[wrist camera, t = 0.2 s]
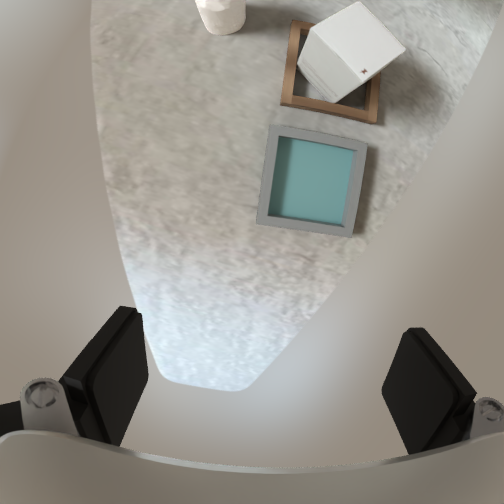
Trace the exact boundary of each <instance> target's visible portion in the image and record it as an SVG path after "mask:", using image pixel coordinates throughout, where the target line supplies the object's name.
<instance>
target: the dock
mask: <svg viewBox="0 0 504 504" xmlns="http://www.w3.org/2000/svg"><path fill="white" fill-rule="evenodd" d="M367 146H368V143H364V142H360V141H356V140H351V139H347V138H343V137H338V136H333V135H329V134H324V133H319V132H313V131H308V130H302V129H297V128H291V127H284V126H278V125H271V124H270V126H269V132H268V140H267V147H266V154H265V161H264V169H263V176H262V183H261V190H260V198H259V205H258V212H257V219H256V224H258V225H266V226H273V227H280V228H287V229H295V230H302V231H308V232H315V233H322V234H329V235H335V236H342V237H348V238H352V233H353V228H354V223H355V218H356V213H357V208H358V202H359V197H360V191H361V185H362V179H363V173H364V166H365V160H366V153H367Z"/></svg>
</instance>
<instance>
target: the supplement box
mask: <svg viewBox="0 0 504 504" xmlns="http://www.w3.org/2000/svg"><path fill="white" fill-rule="evenodd" d="M405 51H406V49H405V48H404V46H403V45H402V44H401V43H400V42H399V41H398V40H397V39H396V37H395V36H394V35H393V34H392V33H391V32H390V31H389V30H388V29H387V28H386V27H385V26H384V25H383V24H382V22H381V21H380V20H379V19H378V18H377V17H376V16H375V15H374V14H373V13H372V12H371V11H370V10H369V9H368V8H366V7H365V6H364V5H363V4H362V3H361V2H360V1H357V2H355V3H354V4H352V5H350V6H348V7H346V8H345V9H343V10H341V11H339V12H337V13H335V14H334V15H332V16H330V17H328V18H327V19H325V20H323V21H321V22H320V23H318V24H316V25H315V26H313V27H311V28H310V31H309V34H308V37H307V39H306V42H305V44H304V47H303V49H302V52H301V54H300V57H299V59H298V62H297V65H296V69H297V70H298V71H299V72H300V73H301V74H302V75H303V76H304V77H305V78H306V79H307V80H308V81H309V82H310V83H311V84H312V85H313V86H314V87H315V88H316V89H317V91H318V92H319V93H320V94H321V95H322V96H323V97H324V98H325V99H326V100H327V101H328V102H331V103H337V102H338V101H339V100H341V99H342V98H343V97H345V96H346V95H348V94H349V93H350V92H352V91H353V90H355V89H356V88H358V87H359V86H361V85H362V84H363V83H365V82H366V81H368V80H369V79H371V78H372V77H373V76H375V75H376V74H377V73H379V72H380V71H381V70H382V69H384V68H385V67H386V66H388V65H389V64H390V63H391V62H393V61H394V60H395V59H396V58H397V57H399V56H400V55H401V54H402V53H404V52H405Z"/></svg>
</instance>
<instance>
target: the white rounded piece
mask: <svg viewBox="0 0 504 504" xmlns="http://www.w3.org/2000/svg"><path fill="white" fill-rule="evenodd" d="M195 2H196V5H197V7H198V10H199V12H200V15H201V17H202V20H203V22H204V24H205V27H206V29H207V30H208V31H209V32H210V33H212V34H215V35H227V34H231V33H234V32H236V31H238V30H239V29H241V27H242V26H243V25H244V23H245V20H246V13H245V0H195Z"/></svg>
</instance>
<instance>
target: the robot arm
mask: <svg viewBox="0 0 504 504" xmlns="http://www.w3.org/2000/svg"><path fill="white" fill-rule="evenodd" d="M147 381H148V366H147V359H146V351H145V341H144V331H143V320H142V314H141V313H138V312H137V309H136V308H131V307H125V306H120V307H119V308H118V309H117V310H116V311H115V312H114V314H113V315H112V316H111V317H110V318H109V319H108V320H107V322H106V323H105V324H104V325H103V326H102V328H101V329H100V330H99V331H98V333H97V334H96V335H95V336H94V337H93V339H91V340H90V342H89V343H88V344H87V345H86V347H85V348H84V349H83V350H82V352H81V353H80V354H79V355H78V357H77V358H76V359H75V361H74V362H73V363H72V364H71V365H70V367H69V368H68V369H67V371H66V372H65V373H64V374H63V376H62V377H61V378H60V380H59V381H56V380H53V379H51V378H38V379H34V380H32V381H30V382H28V383H27V384H26V385H25V386H24V387H23V388H22V391H21V393H20V401H16V402H11V403H7V404H3V405H0V504H504V406H503V405H502V404H501V403H500V402H499V401H497V400H495V399H493V398H489V397H483V398H480V399H478V400H477V401H476V403H474V401H473V399H474V398H475V396H476V394H477V392H476V391H475V390H474V388H473V387H472V386H471V385H470V383H469V382H468V381H467V379H466V378H465V377H464V376H463V374H462V373H461V372H460V371H459V369H458V368H457V367H456V366H455V364H454V363H453V362H452V361H451V359H450V358H449V357H448V356H447V355H446V354H445V352H444V351H443V350H442V349H441V347H440V346H439V345H438V344H437V343H436V342H435V340H434V339H433V338H432V337H431V336H430V334H429V333H428V332H427V331H426V330H425V329H424V328H409V329H408V330H407V331H406V332H404V333H403V335H402V338H401V341H400V344H399V346H398V349H397V351H396V354H395V357H394V359H393V362H392V364H391V367H390V369H389V372H388V374H387V377H386V379H385V381H384V384H383V386H382V395H383V398H384V400H385V402H386V404H387V406H388V408H389V411H390V413H391V415H392V418H393V420H394V422H395V424H396V426H397V429H398V431H399V433H400V436H401V438H402V440H403V443H404V445H405V447H406V449H407V452H408V454H409V455H406V456H402V457H396V458H391V459H385V460H379V461H372V462H365V463H358V464H349V465H338V466H325V467H306V468H262V467H261V468H260V467H241V466H228V465H218V464H208V463H200V462H193V461H186V460H180V459H174V458H169V457H164V456H158V455H153V454H148V453H143V452H139V451H134V450H130V449H126V448H122V447H120V444H121V442H122V439H123V437H124V435H125V432H126V430H127V427H128V425H129V423H130V420H131V418H132V416H133V413H134V411H135V409H136V406H137V404H138V402H139V400H140V397H141V395H142V393H143V390H144V388H145V386H146V384H147Z"/></svg>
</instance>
